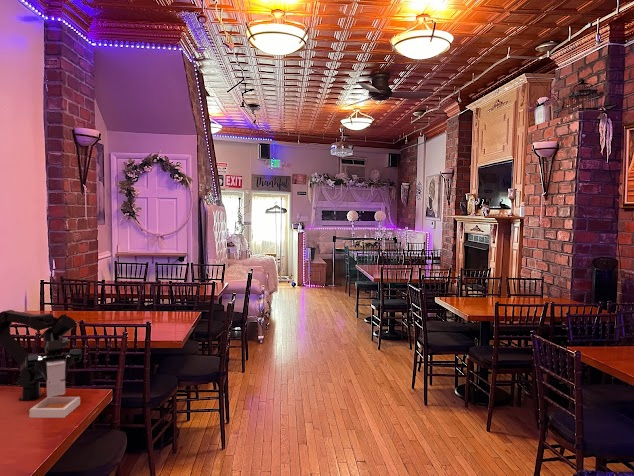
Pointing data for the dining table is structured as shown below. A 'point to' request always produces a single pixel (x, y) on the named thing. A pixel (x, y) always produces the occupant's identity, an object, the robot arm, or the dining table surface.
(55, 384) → the skincare box
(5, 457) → the dining table surface
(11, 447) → the dining table surface
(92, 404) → the dining table surface
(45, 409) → the shallow white square tray
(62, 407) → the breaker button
